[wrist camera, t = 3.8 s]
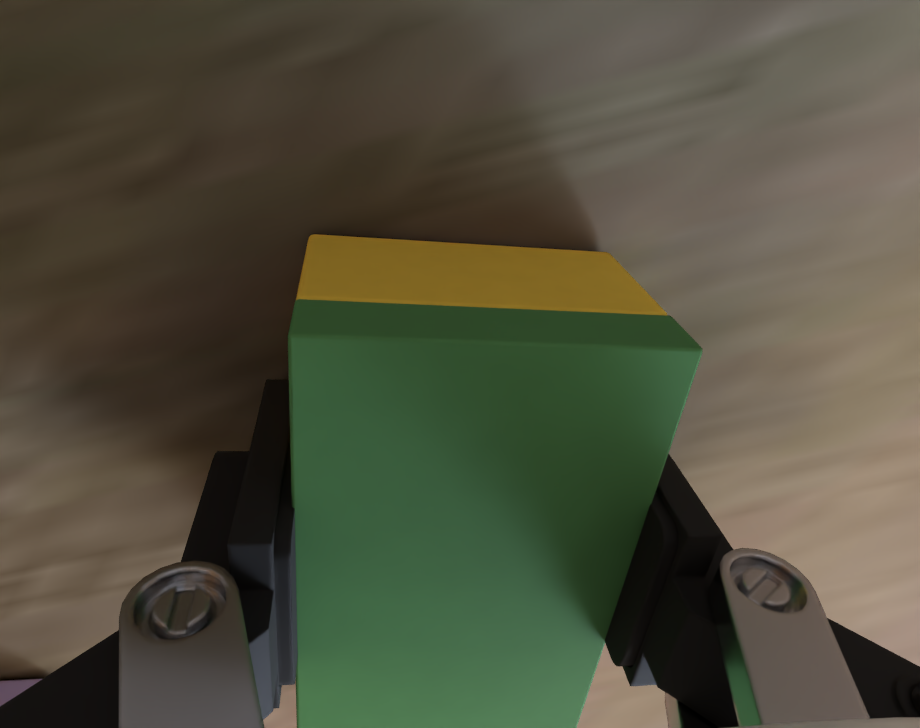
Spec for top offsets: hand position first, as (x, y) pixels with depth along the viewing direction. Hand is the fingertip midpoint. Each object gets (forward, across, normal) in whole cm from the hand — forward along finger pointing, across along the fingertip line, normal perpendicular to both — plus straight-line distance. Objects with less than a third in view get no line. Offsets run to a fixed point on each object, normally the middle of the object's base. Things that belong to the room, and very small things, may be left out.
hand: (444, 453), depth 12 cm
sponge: (0, 0, 0) cm, 0 cm away
